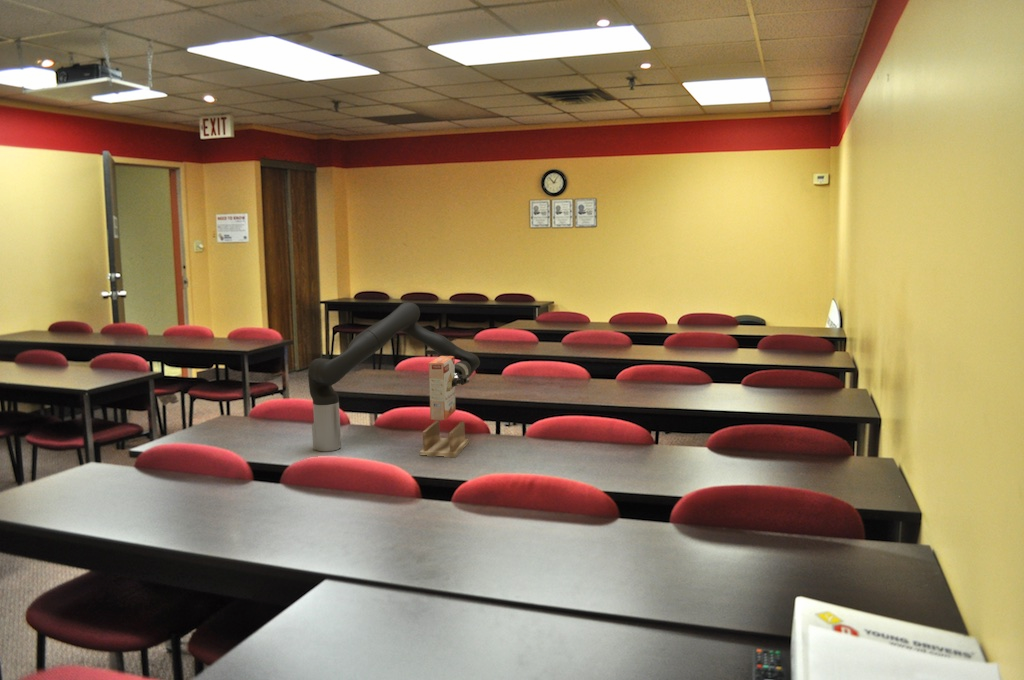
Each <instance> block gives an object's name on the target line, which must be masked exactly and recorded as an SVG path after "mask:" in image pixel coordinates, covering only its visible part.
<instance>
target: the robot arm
mask: <svg viewBox="0 0 1024 680" xmlns="http://www.w3.org/2000/svg"><path fill="white" fill-rule="evenodd" d="M420 316H421V311H420V307H419V306H418V305H417V304H416V303H414V302H409V301H407V302H402V303H401V304H400V305H398V307H397V308H395V309H394V310H393V311H391V313H389V315H387V316H386V317H384V318H383V319H381V320H379V321H377V322H376V323H374V324H372V325H371V326H369V327H367V328H366V329H364V330H363V331H361V332H360V333H359V334H357V335H356V336H354V337H353V338H352V339H351V342H350V343H349V345H348V346H347V348H346V349H345V350H344V351H343V352H342V353H341V354H339V355H337V356H336V357H333V358H332V359H328V358H323V357H319V358H314V359H313V360H312V361H311V362H310V364H309V367H308V369H307V374H308V375H307V377H308V387H309V394H310V397H311V398H312V408H313V409H312V411H313V423H312V424H311V433H312V435H311V436H312V449H313V451H318V452H332V451H337V450H339V448H340V449H341V448H342V441H341V440H342V438H341V435H342V434H341V420H340V419H341V416H340V400H339V394H338V393H337V391H335V389H334V387H333V385H335V384H337V383H338V382H339V381H340V380H342V379H343V378H344V377H345V376H346V375H348V373H349V372H350V371H352V370H353V369H354V368H356V367H357V366H358V365H360V364H361V363H362V362H364V361H366V360H367V359H369V358H370V357H371V356H372V355H374V354H375V353H376V352H378V351H379V350H381V349H382V348H383V347H384V346H385V345H386V344H388V343H389V341H390V340H392V338H393V337H395V335H396V334H397V333H399V332H400V331H401V332H402V333H404V334H406V335H408V336H410V337H411V338H413V339H415V340H417V341H419V342H420V343H422V344H424V345H425V346H427V347H428V348H430V349H431V350H433V352H435V353H436V354H437V355H439V357H440V356H454V357H455V359H456V358H461V359H460V360H459V361H456V363H455V379H453V380H452V387H454V386H455V387H457V386H459V385H461V386H463V385H465V384H468V383H469V382H470V377H471V376H472V375H473V373H474V372H476V370H477V368H479V366H480V364H481V361H480V358H479V357H478V355H476V354H474V353H472V352H469V351H468V350H465V349H463V348H461V347H459V346H458V345H456V344H455V343H454V342H452V341H451V340H449V339H448V338H447V337H446V336H444V335H442V334H439V333H436V332H434V331H431V330H429V329H427V328H425V327H423V326H422V325H420V323H418V321H419V318H420Z"/></svg>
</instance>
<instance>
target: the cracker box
mask: <svg viewBox="0 0 1024 680" xmlns="http://www.w3.org/2000/svg"><path fill="white" fill-rule="evenodd" d="M455 359H456V358H455V357H454V356H440V355H439V356H438V357H437V358H435V359H433V360H431V361H429V363H428V371H429V372H428V375H429V376H428V377H429V379H428V380H429V381H428V382H429V409H430V410H429V415H430V421H436V420H439V422H440V421H446V420H447V419H448V418H449V417H451V416H452V415H453V414H454V413H455V412H456V386H454V387H452V380H453V379H455V364H456V363H455Z"/></svg>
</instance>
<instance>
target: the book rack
mask: <svg viewBox="0 0 1024 680" xmlns="http://www.w3.org/2000/svg"><path fill="white" fill-rule="evenodd" d="M465 427H466V425H465V421H464V420H461V421H460V422H459V423H458V424H456V425H455V427H454V428H453V429H451V430H450V432H449V435H448V437H441V436H440V434H441V433H440V432H441V431H440V420H434V422H432V423H431V424H430V425H429V426H427V428H425V429H424V430H423V431H422V445H423V448H422V449H421V450H420V451H419V456H420V455H427V456H426V457H435V456H444V457H443V458H457V456H459V454H460V453H461V452H462V451H463V450H464V448H465V447H466V446H468V444H469V438H466V433H465V431H466V430H465Z"/></svg>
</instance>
